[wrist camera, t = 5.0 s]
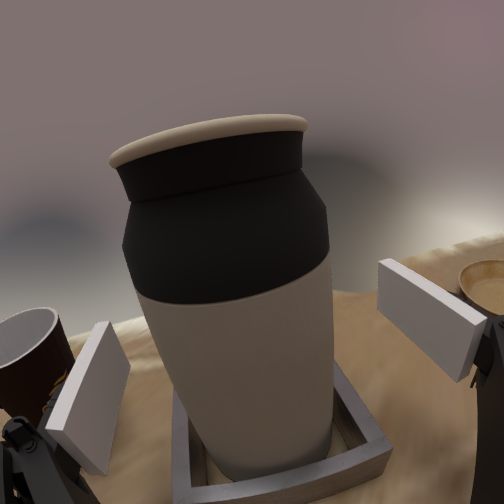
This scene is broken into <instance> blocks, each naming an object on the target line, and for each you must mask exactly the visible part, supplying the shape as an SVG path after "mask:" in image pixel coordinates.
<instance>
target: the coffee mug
mask: <svg viewBox="0 0 504 504" xmlns="http://www.w3.org/2000/svg"><path fill="white" fill-rule="evenodd" d="M75 362H76V361H75V359H74V356H73V354H72V351H71V349H70V346H69V344H68V341H67V338H66V336H65V334H64V330H63V327H62V324H61V322H60V318H59V315H58V313H57V311H56V310H55V309H53V308H50V307H37V308H32V309H28V310H25V311H22V312H19V313H17V314H15V315H12V316H10V317H8V318H6V319H4V320H3V321H1V322H0V408H1V409H4V410H5V411H6V412H7V413H8V414H9V415H10V416H11V417H12V418H14V417H16V416H24V417H26V418H27V419H28V420H29V422H30V423H31V424H32V425H33V426H34V428H35V429H36V430H37V428H38V426H39V423H40V421H41V419H42V416H43V414H44V412H45V410H46V408H47V405H48V403H49V401H51V400H50V399H51V397H52V395H53V393H54V390H55V389H56V388H57V387H58V386H59V385H60V384H61V383H62V382H66V380H67V378H68V376H69V374H70V372H71V370H72V368H73V366H74V364H75ZM1 443H2V444H3V445H4V446H5V447H6V448H11V446H10V445H9V444H8V442H7V441H1Z"/></svg>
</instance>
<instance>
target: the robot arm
mask: <svg viewBox="0 0 504 504" xmlns="http://www.w3.org/2000/svg"><path fill="white" fill-rule="evenodd" d="M377 309H378V310H379V311H380V312H381V313H382V314H383V315H384V316H385V317H387V318H388V319H389V320H390V321H391V322H392V323H393V324H394V325H395V326H397V327H398V328H399V329H400V330H401V331H402V332H403V333H404V334H405V335H406V336H407V337H409V338H410V339H411V340H412V341H413V342H414V343H415V344H416V345H417V346H418V347H419V348H420V349H421V350H423V351H424V352H425V353H426V354H427V355H428V356H429V357H430V358H431V359H432V360H433V361H434V362H435V363H436V364H437V365H438V366H439V367H440V368H441V369H443V370H444V371H445V372H446V373H447V374H448V375H449V376H450V377H451V378H452V379H453V380H454V381H455V382H456V383H458V382H459V381H461V380H462V379H463V378H465V377H466V376H468V375H469V373H470V370H471V368H472V365H473V363H474V364H475V365H476V366H477V367H478V368H477V370H476V373H475V375H474V378H473V380H472V382H471V386H470V388H473V385H474V383H475V382H476V388H477V408H478V432H477V453H476V465H475V474H474V482H473V489H472V495H471V501H470V504H504V315H498V316H497V317H495V318H494V317H492V316H491V315H489V314H488V313H486V312H484V311H483V310H481V309H480V308H478V307H477V306H475V305H474V304H473V305H472V303H470V302H469V301H467V300H465V299H464V298H463V297H461V296H459V295H458V294H455V293H452V292H449V291H445V290H443V289H442V288H440V287H439V286H437V285H435V284H434V283H432V282H430V281H429V280H427V279H425V278H424V277H422V276H420V275H419V274H417V273H415V272H414V271H412V270H410V269H408V268H407V267H405V266H403V265H402V264H400V263H398V262H396V261H395V260H393V259H391V258H389V259H385V260H382V261H379V262H378V299H377ZM130 367H131V366H130V364H129V362H128V360H127V358H126V355H125V353H124V351H123V349H122V347H121V345H120V343H119V340H118V338H117V336H116V334H115V331H114V329H113V327H112V324H111V322H110V321H105V322H99V323H96V324H95V326H94V328H93V330H92V332H91V333H90V335H89V337H88V339H87V341H86V343H85V345H84V346H83V348H82V350H81V352H80V354H79V356H78V358H77V360H76V362H75V364H74V366H73V368H72V370H71V372H70V374H69V376H68V378H67V380H66V382H62V383H61V384H60V385H59V386H58V387H57V388H56V389H55V390H54V393H53V395H52V397H51V399H50V400H51V401H49V403H48V405H47V408H46V410H45V412H44V414H43V416H42V419H41V421H40V423H39V426H38V428H37V430H36V429H35V428H34V426H33V425H32V424H31V423H30V422H29V420H28V419H27V418H26V417H24V416H16V417H14V418H12V419H10V420H9V421H8V422H7V423H6V424H5V426H4V428H3V430H2V437H3V438H4V439H5V440H6V441H7V442H8V444H9V445H10V446H11V448H6V447H5V446H4V445H3V444H2V443H1V442H0V504H100V502H99V501H98V499H97V498H96V497H95V495H94V494H93V492H92V490H91V489H90V487H89V486H88V484H87V483H86V481H85V479H84V478H83V477H82V476H81V475H80V474H79V472H80V468H81V467H82V468H83V469H84V470H85V471H86V472H87V473H88V474H89V475H99V476H107V471H108V465H109V460H110V454H111V449H112V444H113V439H114V434H115V429H116V424H117V420H118V415H119V411H120V406H121V402H122V398H123V394H124V390H125V386H126V382H127V378H128V374H129V371H130ZM13 489H14V490H16V491H17V497H16V496H15V495H14V491H13Z"/></svg>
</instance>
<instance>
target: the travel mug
mask: <svg viewBox="0 0 504 504" xmlns="http://www.w3.org/2000/svg"><path fill="white" fill-rule="evenodd" d="M307 128H308V123H307V122H306V120H305V119H303V118H302V117H299V116H295V115H285V114H261V115H246V116H236V117H229V118H222V119H215V120H209V121H204V122H199V123H194V124H190V125H185V126H181V127H177V128H174V129H170V130H166V131H163V132H159V133H156V134H153V135H150V136H147V137H145V138H142V139H140V140H137V141H134V142H132V143H130V144H127V145H126V146H123V147H122V148H120V149H118V150H117V151H115V152H114V153H113V154H112V155H111V156H110V159H109V164H110V166H111V167H112V168H114V169H116V170H117V172H118V174H119V176H120V178H121V180H122V182H123V185H124V188H125V191H126V194H127V196H128V199H129V201H131V206H130V210H129V214H128V219H127V224H126V228H125V234H124V239H123V244H122V248H123V252H124V256H125V259H126V262H127V266H128V269H129V272H130V275H131V278H132V281H133V284H134V287H135V290H136V293H137V296H138V299H139V302H140V305H141V307H142V310H143V313H144V316H145V319H146V321H147V324H148V327H149V329H150V332H151V334H152V337H153V339H154V342H155V344H156V347H157V349H158V351H159V354H160V356H161V359H162V361H163V363H164V366H165V368H166V370H167V372H168V375H169V377H170V379H171V381H172V383H173V385H174V388H175V390H176V392H177V394H178V396H179V398H180V400H181V402H182V404H183V406H184V408H185V410H186V412H187V414H188V416H189V418H190V420H191V422H192V424H193V425H194V427H195V429H196V431H197V433H198V435H199V437H200V438H201V440H202V442H203V444H204V445H205V447H206V449H207V451H208V452H209V454H210V456H211V457H212V459H213V461H214V462H215V464H216V466H217V467H218V468H219V469H220V471H221V472H222V473H223V474H225V475H226V476H227V477H229V478H230V479H232V480H234V481H235V482H239V481H244V480H250V479H255V478H260V477H264V476H269V475H273V474H277V473H281V472H285V471H289V470H292V469H296V468H299V467H303V466H306V465H309V464H312V463H316V462H319V461H322V460H324V458H325V457H326V455H327V453H328V450H329V447H330V443H331V432H332V413H333V383H334V330H333V298H332V278H331V262H330V249H329V236H328V225H327V214H326V206H325V205H324V203H323V201H322V200H321V198H320V197H319V195H318V194H317V193H316V191H315V189H314V188H313V186H312V185H311V183H310V182H309V180H308V179H307V178H306V176H305V175H304V173H303V172H302V170H301V169H300V168H302V140H303V133H304V132H305V131H306V130H307Z"/></svg>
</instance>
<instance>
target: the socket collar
mask: <svg viewBox="0 0 504 504" xmlns="http://www.w3.org/2000/svg"><path fill="white" fill-rule="evenodd" d="M332 418H333V419H334V421H335V423H336V425H337V427H338V429H339V431H340V433H341V434H342V436H343V438H344V440H345V442H346V444H347V446H348V447H349V449H350V450H349V451H346V452H344V453H341V454H339V455H336V456H333V457H330V458H328V459H325V460H322V461H319V462H316V463H312V464H309V465H306V466H303V467H299V468H296V469H292V470H289V471H285V472H281V473H277V474H273V475H269V476H264V477H260V478H255V479H250V480H244V481H239V482H233V483H226V484H219V485H211V486H208V484H207V475H206V466H205V455H204V444H203V442H202V440H201V438H200V437H199V435H198V433H197V431H196V429H195V427H194V425H193V424H192V422H191V420H190V418H189V416H188V414H187V412H186V410H185V408H184V406H183V404H182V402H181V400H180V398H179V396H178V394H177V392H176V390H175V388H174V391H173V413H172V504H306V503H309V502H312V501H315V500H319V499H322V498H325V497H328V496H330V495H333V494H336V493H339V492H341V491H344V490H347V489H349V488H352V487H354V486H357V485H359V484H361V483H364V482H366V481H368V480H371V479H373V478H375V477H377V476H379V475H381V474H382V473H383V471H384V469H385V466H386V464H387V462H388V460H389V457H390V455H391V453H392V450H393V448H394V447H393V446H392V444H391V443H390V441H389V440H388V438H387V437H386V435H385V434H384V432H383V431H382V429H381V428H380V426H379V425H378V423H377V422H376V420H375V419H374V417H373V416H372V414H371V413H370V412H369V410H368V409H367V407H366V406H365V404H364V403H363V401H362V400H361V398H360V397H359V395H358V394H357V392H356V391H355V389H354V388H353V386H352V385H351V383H350V382H349V380H348V379H347V377H346V376H345V374H344V373H343V371H342V370H341V369H340V367H339V366H338V364H337V363H336V361H335V360H334V383H333V413H332Z"/></svg>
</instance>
